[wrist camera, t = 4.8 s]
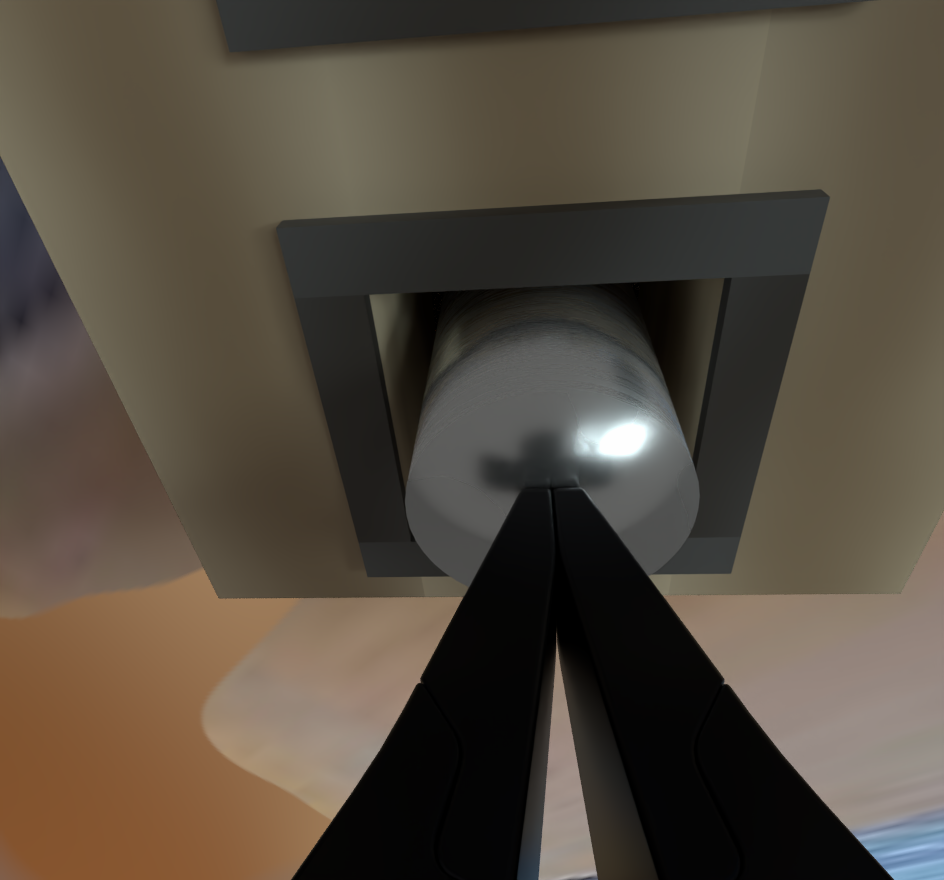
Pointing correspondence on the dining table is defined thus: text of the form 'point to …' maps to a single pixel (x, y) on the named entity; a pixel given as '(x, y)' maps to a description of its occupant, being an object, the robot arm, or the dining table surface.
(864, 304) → the jig block
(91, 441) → the dining table surface
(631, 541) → the peg
